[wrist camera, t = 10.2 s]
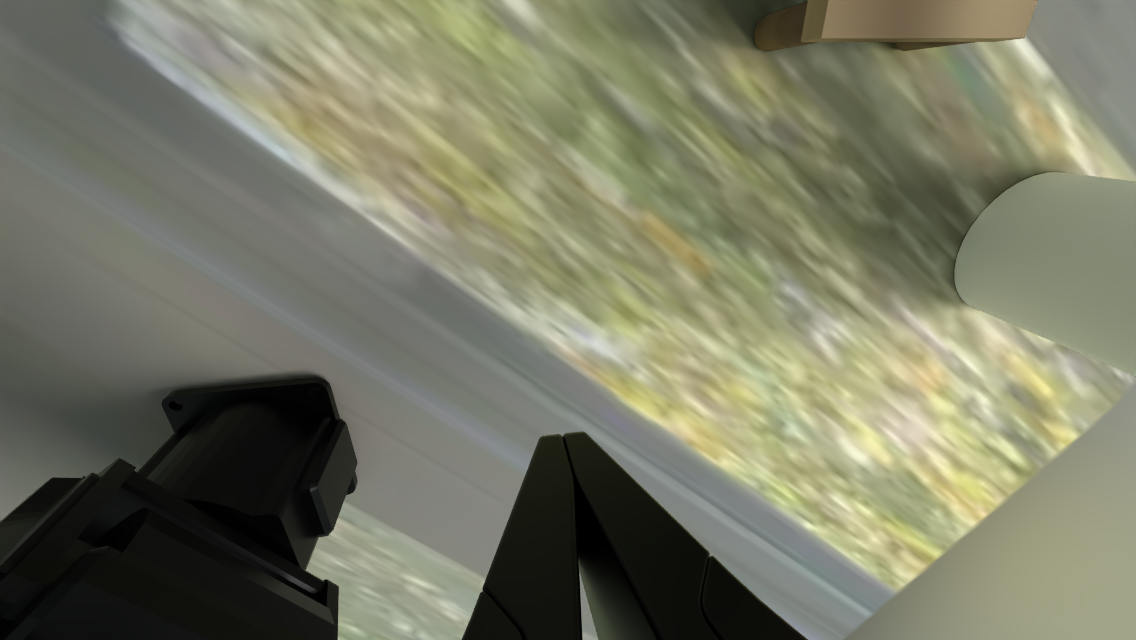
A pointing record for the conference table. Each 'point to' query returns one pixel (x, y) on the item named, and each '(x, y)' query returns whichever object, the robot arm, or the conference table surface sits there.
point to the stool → (895, 22)
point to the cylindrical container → (1059, 263)
